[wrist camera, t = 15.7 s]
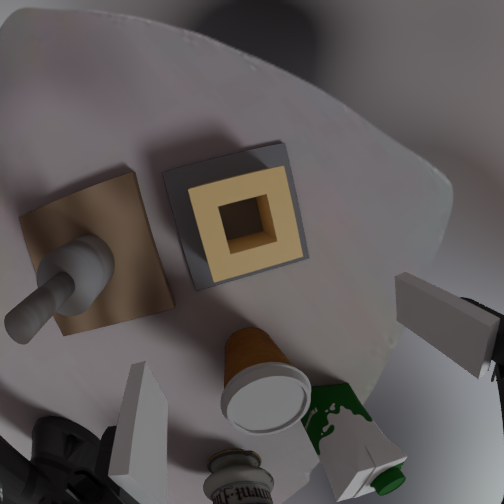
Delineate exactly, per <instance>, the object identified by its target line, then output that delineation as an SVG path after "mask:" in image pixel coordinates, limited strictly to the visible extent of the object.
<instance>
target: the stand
mask: <svg viewBox="0 0 504 504" xmlns="http://www.w3.org/2000/svg"><path fill="white" fill-rule="evenodd" d="M19 220H20V224H21V228H22V231H23V235H24V238H25V241H26V245H27V248H28V251H29V254H30V257H31V260H32V263H33V266H34V268H35V271H36V274H37V285H38V289H36V290H35V291H34V292H33V293H31V294H30V295H29V296H28V297H27V298H25V299H24V300H23V301H22V302H21V303H19V304H18V305H17V306H16V307H15V308H13V309H12V310H11V311H10V312H9V313H8V314H7V315H6V316H5V320H4V324H5V328H6V331H7V333H8V334H9V336H10V337H11V338H12V339H13V340H14V341H15V342H17V343H19V344H27V343H29V341H30V340H31V339H32V338H33V337H34V336H35V334H36V333H37V332H38V331H39V330H40V329H41V328H42V326H43V325H44V324H45V323H46V322H47V321H48V320H49V319H50V318H51V316H52V315H54V317H55V320H56V322H57V324H58V326H59V328H60V330H61V332H62V334H63V336H67V335H71V334H75V333H80V332H84V331H88V330H92V329H96V328H101V327H105V326H109V325H113V324H117V323H121V322H125V321H129V320H133V319H137V318H140V317H144V316H148V315H152V314H156V313H160V312H163V311H167V310H171V309H175V301H174V299H173V296H172V293H171V290H170V287H169V284H168V281H167V278H166V276H165V273H164V270H163V267H162V263H161V260H160V257H159V254H158V251H157V248H156V245H155V241H154V238H153V235H152V232H151V228H150V225H149V221H148V218H147V214H146V211H145V207H144V204H143V200H142V196H141V193H140V189H139V185H138V181H137V177H136V173H135V172H130V173H127V174H124V175H121V176H119V177H116V178H113V179H110V180H107V181H104V182H102V183H99V184H96V185H94V186H91V187H88V188H86V189H83V190H81V191H78V192H76V193H73V194H71V195H68V196H66V197H63V198H61V199H58V200H56V201H54V202H51V203H49V204H47V205H45V206H42V207H40V208H38V209H36V210H33V211H31V212H29V213H27V214H25V215H23V216H21V217H19Z"/></svg>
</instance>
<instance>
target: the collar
mask: <svg viewBox="0 0 504 504" xmlns="http://www.w3.org/2000/svg"><path fill="white" fill-rule="evenodd" d="M188 192H189V195H190V199H191V203H192V207H193V210H194V214H195V218H196V221H197V225H198V229H199V232H200V236H201V239H202V243H203V246H204V250H205V253H206V257H207V260H208V264H209V267H210V271H211V274H212V277H213V281H214V282H218V281H221V280H225V279H228V278H232V277H235V276H239V275H242V274H246V273H249V272H253V271H256V270H260V269H263V268H266V267H270V266H273V265H277V264H280V263H283V262H287V261H290V260H294V259H297V258H300V257H303V253H302V248H301V243H300V238H299V233H298V228H297V223H296V218H295V214H294V209H293V204H292V199H291V195H290V190H289V186H288V181H287V177H286V172H285V168H284V166H279V167H272V168H267V169H262V170H258V171H254V172H249V173H245V174H241V175H237V176H233V177H229V178H225V179H221V180H217V181H213V182H210V183H206V184H202V185H199V186H195V187H191V188H189V189H188ZM253 197H256V201H257V205H258V209H259V213H260V218H261V222H262V226H263V231H261V232H258V233H254V234H250V235H247V236H243V237H239V238H236V239H232V240H229V241H227V239H226V236H225V232H224V228H223V224H222V220H221V217H220V213H219V209H218V206H222V205H226V204H229V203H233V202H237V201H241V200H245V199H249V198H253Z"/></svg>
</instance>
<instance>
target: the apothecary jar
mask: <svg viewBox="0 0 504 504" xmlns="http://www.w3.org/2000/svg"><path fill="white" fill-rule="evenodd" d="M260 465H261V458H260V456H259V455H258V454H256V453H255V452H252V451H243V450H242V449H232V450H227V451H223V452H220V453H218V454H215V455H214V456H212V457H211V458H210V459H209V461H208V464H207V467H208V469H209V471H210V472H211V473H212V474H211V475H210V476H209V477H208V478H207V479H206V480H205V482H204V485H203V490H204V493H205V495H206V496H207V497H208V498H209V499H210V500H211V501H213V504H273V501H272V498H271V495H270V492H271V491H272V489H273V486H274V480H273V477H272V476H271V474H270V473H269V472H267V471H266V470H264V469H262V468H260Z"/></svg>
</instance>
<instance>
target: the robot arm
mask: <svg viewBox="0 0 504 504" xmlns="http://www.w3.org/2000/svg"><path fill="white" fill-rule="evenodd" d="M395 288H396V309H397V321H399V322H400V323H401V324H403V325H404V326H406V327H407V328H408V329H410V330H411V331H413V332H414V333H416V334H417V335H418V336H420V337H421V338H423V339H424V340H425V341H427V342H428V343H429V344H431V345H432V346H434V347H435V348H437V349H438V350H439V351H441V352H442V353H443V354H445V355H446V356H447V357H449V358H450V359H452V360H453V361H454V362H456V363H457V364H458V365H460V366H461V367H463V368H464V369H465V370H467V371H468V372H469V373H471V374H472V375H473V376H475V377H476V378H477V379H479V378H480V377H481V376H483V375H484V374H485V373H486V372H487V371H488V370H489V367H490V363H491V360H493V361H494V362H496V365H495V368H494V371H493V375H492V378H491V382H493V381H494V377H495V376H496V378H497V380H496V381H497V384H498V390H499V396H500V403H501V411H502V420H503V430H504V315H502V314H500V313H498V312H496V311H494V310H492V309H490V308H488V307H485V306H484V305H482V304H479V303H478V302H476V301H474V300H472V299H469V298H464V297H460V298H459V297H457V296H455V295H453V294H451V293H449V292H447V291H445V290H443V289H441V288H439V287H436V286H434V285H432V284H430V283H428V282H426V281H424V280H422V279H420V278H418V277H415V276H413V275H411V274H409V273H407V272H404V273H402V274H399V275H397V276H395ZM167 419H168V401H167V399H166V398H165V396H164V394H163V392H162V391H161V389H160V387H159V385H158V384H157V382H156V380H155V378H154V376H153V374H152V372H151V371H150V369H149V367H148V365H147V363H146V361H144V362H140V363H136V364H132V365H131V368H130V372H129V376H128V380H127V384H126V388H125V392H124V397H123V401H122V405H121V410H120V414H119V419H118V424H117V426H111V427H108V428H107V429H106V431H105V432H104V434H103V435H102V438H101V441H100V440H99V439H98V438H97V437H96V436H95V435H93V434H92V433H91V432H89V431H88V430H86V429H85V428H83V427H81V426H79V425H78V424H76V423H73V422H71V421H68V420H66V419H62V418H58V417H51V416H47V417H42V418H40V419H38V420H37V422H36V424H35V426H34V428H33V430H32V456H31V460H30V461H29V460H28V459H26V458H25V457H24V456H23V455H21V454H20V453H19V452H18V451H17V450H16V449H14V448H13V447H12V446H11V445H10V444H9V443H8V442H7V441H6V440H5V439H4V438H3V437H2V436H0V504H168V496H167ZM501 504H504V498H503V501H502V503H501Z"/></svg>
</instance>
